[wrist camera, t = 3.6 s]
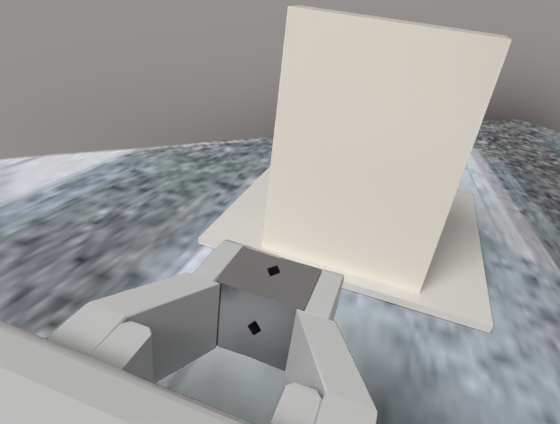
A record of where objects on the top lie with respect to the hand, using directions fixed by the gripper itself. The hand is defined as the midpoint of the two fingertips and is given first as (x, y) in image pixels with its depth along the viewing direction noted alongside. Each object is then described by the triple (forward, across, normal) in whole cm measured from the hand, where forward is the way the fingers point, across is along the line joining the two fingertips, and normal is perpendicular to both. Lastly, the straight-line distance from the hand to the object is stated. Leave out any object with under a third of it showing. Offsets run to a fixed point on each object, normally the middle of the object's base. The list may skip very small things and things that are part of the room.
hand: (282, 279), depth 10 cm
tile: (+14, 0, +9) cm, 17 cm away
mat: (+21, 0, +9) cm, 23 cm away
